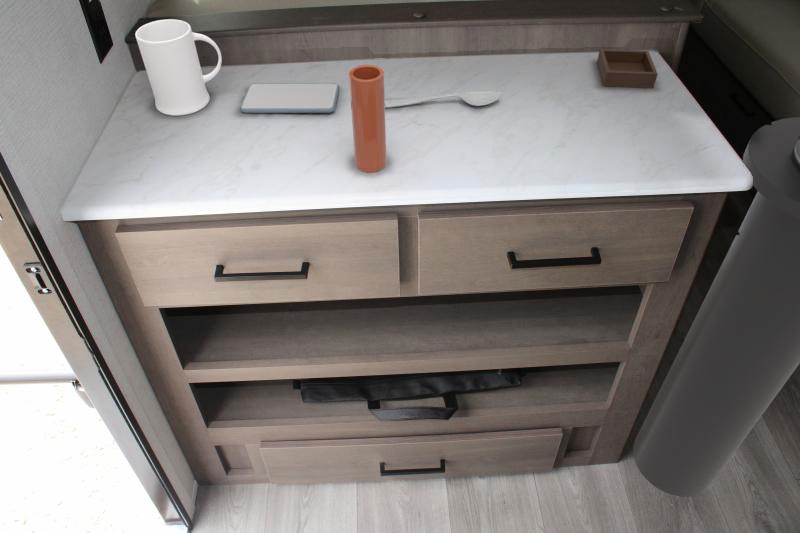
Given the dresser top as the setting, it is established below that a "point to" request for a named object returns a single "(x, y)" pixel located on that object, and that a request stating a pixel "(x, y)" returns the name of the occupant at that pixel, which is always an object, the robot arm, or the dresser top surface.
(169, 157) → the dresser top surface
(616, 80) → the tray
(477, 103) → the spoon
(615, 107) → the dresser top surface
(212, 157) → the dresser top surface
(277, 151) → the dresser top surface
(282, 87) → the smartphone
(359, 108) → the orange hollow tube
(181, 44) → the mug
